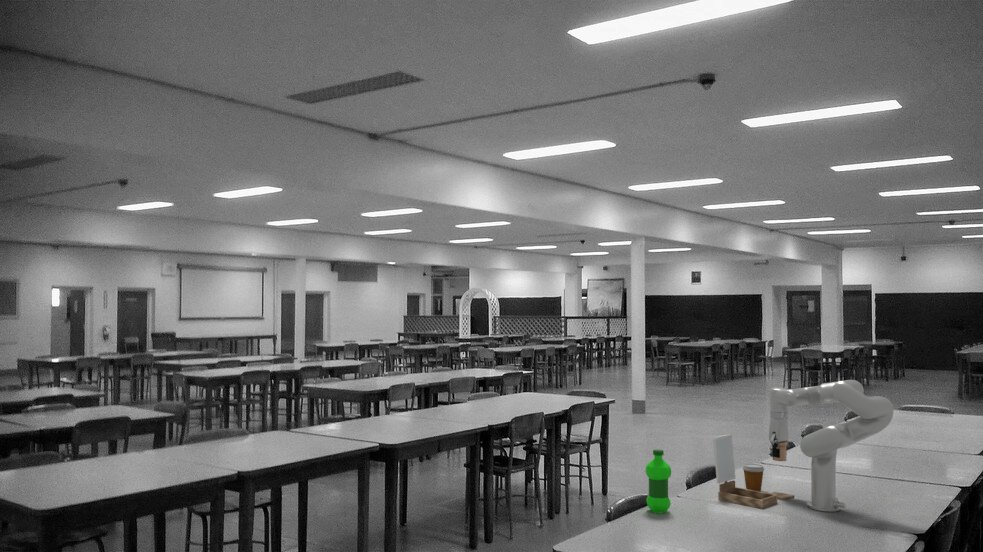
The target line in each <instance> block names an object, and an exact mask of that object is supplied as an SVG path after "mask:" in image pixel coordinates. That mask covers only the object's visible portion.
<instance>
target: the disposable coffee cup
mask: <svg viewBox="0 0 983 552" xmlns="http://www.w3.org/2000/svg"><path fill="white" fill-rule="evenodd" d="M742 470H743V475H744V485H745V489H748V490H753V491H758V492H762V486H763V485H762V484H763V478H764V477H763V476H764V470H765V468H764V465H763V464H760V463H744V464H743V466H742Z"/></svg>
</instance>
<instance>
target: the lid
mask: <svg viewBox="0 0 983 552" xmlns="http://www.w3.org/2000/svg"><path fill="white" fill-rule="evenodd" d="M712 440H713V441H712V442H713V451H714V452H713V453H714V463H715V464H714V465H715V475H716V477H715V478H716V484H723V483H724V482H726V481H727V482H730V481H733V480H735V479H736V470H735V457H734V447H733V435H732V434H731V433H728V434H724V435H718V436H715V437H713V438H712Z"/></svg>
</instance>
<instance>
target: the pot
mask: <svg viewBox="0 0 983 552" xmlns="http://www.w3.org/2000/svg"><path fill="white" fill-rule="evenodd" d="M776 444H777V443H776ZM788 444H789V443H788V441H787V442H786V441H782V442H780V443H779V449H780V458H776V457H773V456H772V461H776V462H787V456H786V446H787V447H788V446H789V445H788Z"/></svg>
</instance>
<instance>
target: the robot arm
mask: <svg viewBox="0 0 983 552" xmlns="http://www.w3.org/2000/svg"><path fill="white" fill-rule="evenodd" d="M864 393H865V391H864V387H863V385H862V383H860V381H858V380H855V379H846V380H839V381H833V382H824V383H821V384H820V385H815V386H808V387H800V388H797V387H796V388H790V389H789V388H785V387H771V388H770V391H769V398H770V399H769V401H770V402H769V403H770V404H769V407H770V408H769V413H770V414H769V415H770V416H769V417H770V420H769V425H768V426H769V428H768V440H769V442H770V444H771V448H772V449H771V451H772V455H771V457H772V458H773V457H776V458H780V449H779V443H780V442H782V441H786V442H788V441H789V421H788V420H789V407H793V408H794V407H799V406H807V405H815V404H834V403H840V404H841V405H843V406H844V407H845V408H847V409H848V410H850V411H851V412H852V413H854V414H855V415H857V416H858V417H856V418H854V419H852V420H848V421H846V422H843V423H837V424H832V425H831V424H830V425H828V426H826V427H825V426H824V427H823V428H820V429H818V430H815V431H813V432H811V433H809V434H807V435H804V437H803V438H802V439H801V441H800V443H799V445H800V446H799V448H800V450H801V452H802V453H803V455H804V456H805V457H809V458H811V460H810V461H811V463H810V480H811V481H810V483H811V484H810V485H811V490H810V491H811V492H810V493H811V500H810V501H809V502H807V507H808V508H809V509H811V510H814V511H818V512H819V511H820V512H831V513H833V512H838V511H840V510H841V509H846V507H847V504H846V503H845V502H843V501H839V497H837V481H836V480H837V478H836V477H837V476H836V475H837V474H836V473H837V472H836V471H837V470H836V469H837V468H836V467H837V466H836V465H837V453H838V450H839V449H843V448H847V447H850V446H851V445H854V444H857V443H858V442H861V441H863V440H865V439H868V438H870V437H872V436H874V435H876V434H879V433H881V432H882V431H883V430H884V429H886V428H887V427H888V426H889V425H890V424H891V421H892V419H893V416H894V405H893V403H892V402H891V400H890V399H888V398H887V397H884V396H881V395H880V396H878V395H875V396H874V395H873V396H867V395H865V394H864ZM776 443H777V444H776ZM787 447H788V445H787V446H786V457H787V450H788V449H787Z"/></svg>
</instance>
